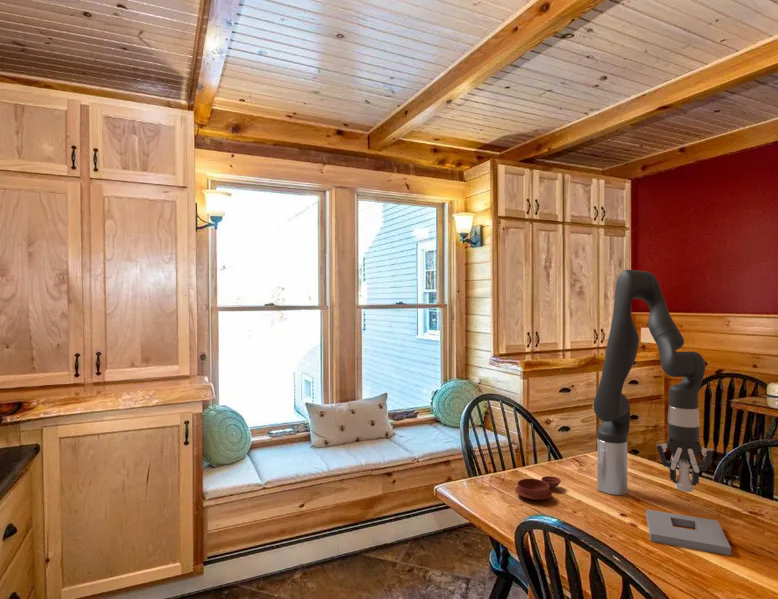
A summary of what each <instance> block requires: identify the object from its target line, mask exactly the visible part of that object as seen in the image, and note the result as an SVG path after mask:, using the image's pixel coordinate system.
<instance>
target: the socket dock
mask: <svg viewBox="0 0 778 599" xmlns="http://www.w3.org/2000/svg"><path fill="white" fill-rule="evenodd" d="M645 518H646V522H647V523H646V524H647V528H648V534H649V539H650V540H649V541H650V542H654V543H659V544H665V545H669V546H670V545H671V546H675V547H676V546H677V547H680V548H686V549H691V548H692V550H697V549H698V551H702V552H709V553H713V552H714V553H715V554H719V553H720V554H719V555H725V556H732V546H731V545H730V543H729V541H728V539H727V537H726V535H725V533H724V531H723V529H722V527H721V525H720V523H719V521H718V520H715V519H709V518H703V517H702V518H701V517H697V516H690V515H683V514H678V513H672V512H665V511H659V510H654V509H653V510H652V509H645ZM678 526H679V527H678ZM684 527H686V528H684ZM691 528H692V529H691Z"/></svg>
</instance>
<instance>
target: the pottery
mask: <svg viewBox="0 0 778 599" xmlns="http://www.w3.org/2000/svg"><path fill="white" fill-rule="evenodd" d="M561 482H562V480H561V479H560V478H559V477H556V476H555V477H554V476H547V475H546V476H542V477H541V479H538V478H523V479H520V480H518V481H517V482H516V483H517V486H515V490H514V491H515V493H516V494H517V495H519V496H520V497H522V498H525V497H526V498H528V499H531V500H536V501H535V502H538V501H537V500H540V501H542V500H544V499H549V498H550V497H552V496H553V492H552V490H550V489H555V488H557V487H558V486H559V485H560V484H561ZM555 490H556V489H555ZM526 498H525V499H526ZM528 499H527V500H528ZM541 499H542V500H541ZM531 500H530V501H531Z"/></svg>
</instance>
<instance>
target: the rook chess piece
mask: <svg viewBox="0 0 778 599" xmlns="http://www.w3.org/2000/svg"><path fill="white" fill-rule="evenodd" d="M677 465H678V466H679V467H678V470H679V471H678V477H677V478H676V483H675V485H674V488H675V489H677V490H679V491H680V492H684V493H685V492H686V493H691V492H693V491H694V490H695V489H694V485H693V484H692V479H691V477H690V471H691V470H690V467H692V464H691V462H690V460H687V459H679V460H678V463H677Z"/></svg>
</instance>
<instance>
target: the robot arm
mask: <svg viewBox="0 0 778 599" xmlns="http://www.w3.org/2000/svg"><path fill="white" fill-rule="evenodd" d="M619 273H620V274H619V275H618V277H617V278H616V283H615V290H614V299H613V300H614V302H613V312H612V319H611V324H610V330H609V333H608V334H609V335H608V338H607V342H606V343H607V344H606V348H605V355H604V361H603V365H602V372H601V377H600V380H599V381H600V382H599V384H598V388H597V391H596V394H595V397H594V400H593V411H594V413H595V416H596V418H597V419H599V420H600V421H601V424H600V426H599V428H598V429H597V434H596V435H597V437H596V438H597V461H596V462H597V464H596V465H597V466H596V467H597V468H596V469H597V479H596V480H597V481H596V482H597V486H596V487H597V488H596V489H597V491H598V492H599V491H600V492H603V493H605V494H610V495H616V496H621V495H623V496H624V495H626V494H627V493H628V436H629V433H630V426H631V425H630V422H631V407H630V406H631V405H630V402H629V399H628V398H627V397H626V395H625V394H623V393H622V392H623V387H624V384H625V381H626V379H627V377H628V376H629V374H630V371H631V370H632V367H633V366H634V364H635V361H636V358H637V355H638V350H639V344H640V336H639V332H638V330H637V328H636V326H635V323H634V320H633V317H632V306H633V305H632V304H633V300H634V299H635V300H643V302H644V303H645V304H646V306H648V309H649V317H648V321H647V326H648V330H649V332H650V334H651V336H652V339H653V340H654V342H655V344H656V345H657V349H658V355H659V359H660V360H659V361H660V365H661V366H660V367H661V369H662V370H663V372H664V373H665V374H666V375H667V376H670V377H672V378H682V380H681V381H680V382H679V383H676V384H673V385H671V386H669V389H668V412H667V425H668V426H667V434H668V435H667V436H668V438H667V441H666V443H659V442H658V443H656V444H655V445H656V449H657V451H658V454H659V458H660V461H661V463H662V465H663V467H666V468H668V469H669V480H670V481H672V483H673V484H676V481H677V470H676V467H677V465H678V464H677V463H678V462H679V460H680V459H681V460H688V461H689V462H690V465H691V468H692V469H691V483H692V484H693V486H695V487H696V486H697V485H698V484H699V483H700V481H699V480H700V476H699V475H700V472H706V471H707V470H708V468H709V466H710V463H711V460H712V457H713V455H714V452H713V450H711V448H705V447H704V446H703V447H702V445H701V441H700V440H701V437H700V412H699V391H700V389H701V386H702V382H703V379H704V376H705V373H706V362H705V359H704V356H702V355H701V354H700V353H699V352H696V351H677V350H680V349H681V348H682V347H683V345H684V344H685V340H684V337H683V335H682V333H681V332H680V329H679V328H678V326H677V325H676V323H675V321H674V320H673V318H672V316H671V314H670V312H669V309H668V307H667V303H666V300H665V297H664V294H663V292H662V291H663V290H662V288H661V285H660V283H659V281H658V279H657V277H656V276H655V275H654V273H652V272H650V271H644V270H637V269H636V270H635V269H624V270H622V271H621V272H619ZM667 448H668V449H669V451H670V452H671V457H670V461H668V460H667V458H666V455H665V452H667V450H666V449H667ZM700 453H701V455H702V456H703V457H702V460H701V462H700V464H699V465H698V462H697V459H696V457H697V455H699V454H700Z"/></svg>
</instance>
